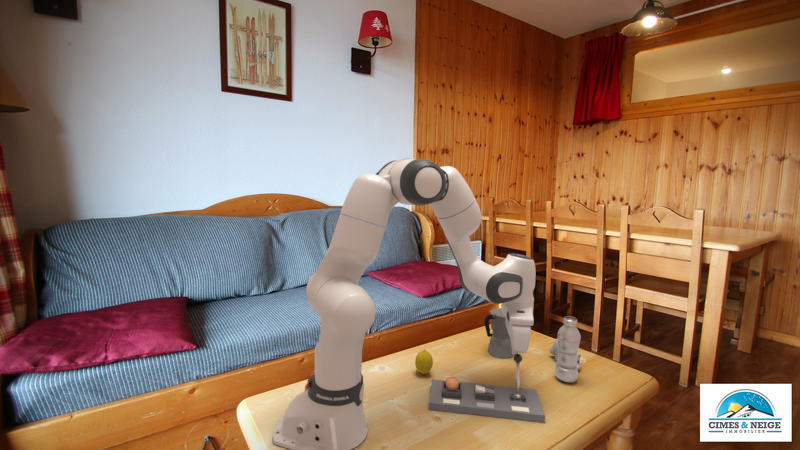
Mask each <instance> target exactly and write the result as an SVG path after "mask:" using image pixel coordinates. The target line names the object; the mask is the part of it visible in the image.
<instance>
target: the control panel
mask: <svg viewBox="0 0 800 450" xmlns="http://www.w3.org/2000/svg"><path fill="white" fill-rule="evenodd" d="M476 385H478V386H481V387H485V388H489V389H493V390H494V394H485V393H476V392H475V387H476ZM515 394H516V386H515V387H514V386H503V385H495V384H494V385H493V384H484V383H476V382H475V383H472V382H464V381H463V382H462V381H459V386H458V389H457V390H449V389H447V388H446V379H445V380H444V379H435V378H434V379H433V378H432V379H431V385H430V391H429V397H428V398H429V399H428V410H429V411H438V412H447V413H454V414H455V413H457V414H465V415H472V416H473V415H475V416H482V417H483V416H484V417H491V418H499V419H509V420H517V421H526V422H532V423H533V422H536V423H544V424H545V423H546V414H545V411H544V409H543V408H544V407H543V405H542V403H541V400H540V396H539V394H538V391H537V389H533V388H523V387H520V396H521V399H516V398H515Z"/></svg>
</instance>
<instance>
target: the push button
mask: <svg viewBox="0 0 800 450" xmlns="http://www.w3.org/2000/svg"><path fill="white" fill-rule="evenodd" d="M445 380H446V388H447V389H449V390H457V389H458V386H459V382H460V381H459V378H457V377H455V376H447V377H446V378H445Z"/></svg>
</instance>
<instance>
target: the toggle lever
mask: <svg viewBox="0 0 800 450" xmlns="http://www.w3.org/2000/svg"><path fill="white" fill-rule="evenodd" d="M512 357H513V358H512V359H513V361H514V362H515V388H516V394H515V398H516V399H521V396H520V388H521V387H520V386H521V383H520V382H521V380H520V379H521V377H520V376H521V374H520V373H521V372H520V370H521V369H520V368H521V366H520V363H521V362H522V361H523V356H522V355H521V353H520V354H519V353H518V354H515V355H513V356H512Z"/></svg>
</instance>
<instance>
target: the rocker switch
mask: <svg viewBox="0 0 800 450" xmlns="http://www.w3.org/2000/svg"><path fill="white" fill-rule="evenodd" d="M475 392H476V393H485V394H494V390H493V389H489V388H485V387H481V386H478V385H476V387H475Z"/></svg>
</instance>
